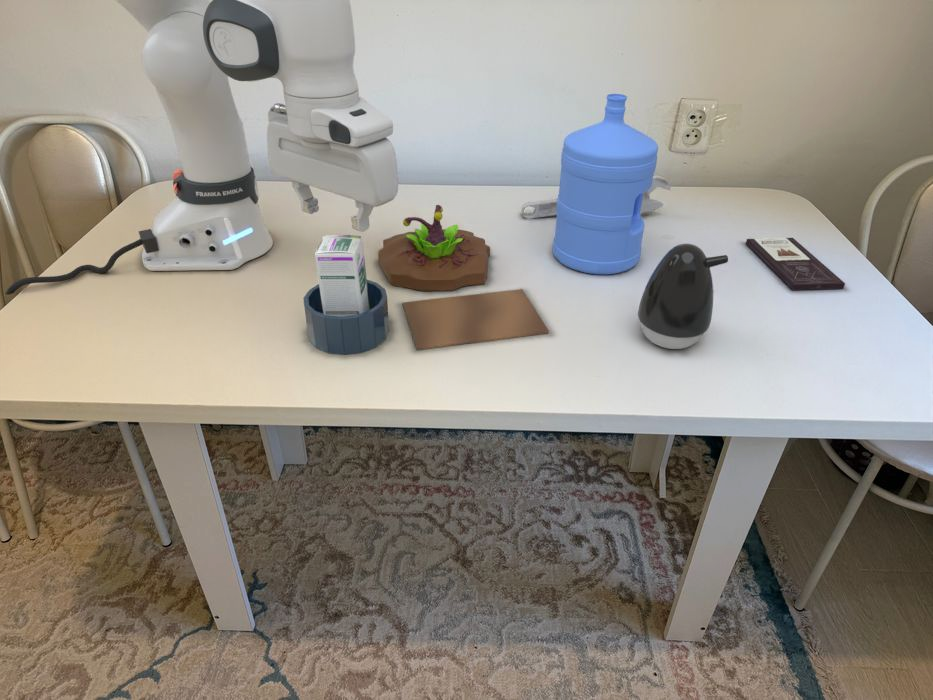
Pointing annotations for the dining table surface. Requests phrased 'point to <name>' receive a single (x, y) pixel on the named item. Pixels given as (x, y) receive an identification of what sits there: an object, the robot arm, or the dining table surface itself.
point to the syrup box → (342, 275)
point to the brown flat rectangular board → (472, 319)
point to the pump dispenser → (679, 298)
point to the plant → (434, 257)
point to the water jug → (603, 193)
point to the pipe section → (348, 323)
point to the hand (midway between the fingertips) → (335, 220)
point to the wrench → (550, 206)
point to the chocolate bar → (794, 264)
